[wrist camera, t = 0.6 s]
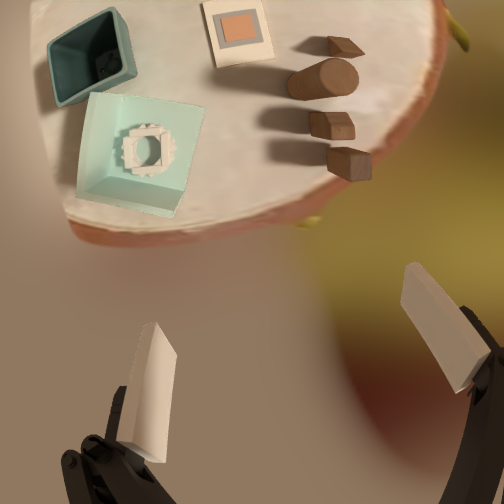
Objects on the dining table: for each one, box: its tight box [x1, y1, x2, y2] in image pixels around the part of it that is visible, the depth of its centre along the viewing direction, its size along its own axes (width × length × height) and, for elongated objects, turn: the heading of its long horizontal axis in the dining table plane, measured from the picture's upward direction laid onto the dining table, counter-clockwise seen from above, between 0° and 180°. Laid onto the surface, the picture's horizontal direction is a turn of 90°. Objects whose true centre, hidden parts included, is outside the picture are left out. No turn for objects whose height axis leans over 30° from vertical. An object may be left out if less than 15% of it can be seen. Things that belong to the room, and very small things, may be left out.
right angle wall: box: [76, 92, 206, 219], centre depth 27 cm, size 12×12×8 cm
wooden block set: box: [287, 36, 372, 182], centre depth 25 cm, size 18×9×10 cm, turn 7°
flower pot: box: [47, 7, 137, 108], centre depth 21 cm, size 9×9×9 cm
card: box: [203, 0, 275, 68], centre depth 24 cm, size 10×7×1 cm
